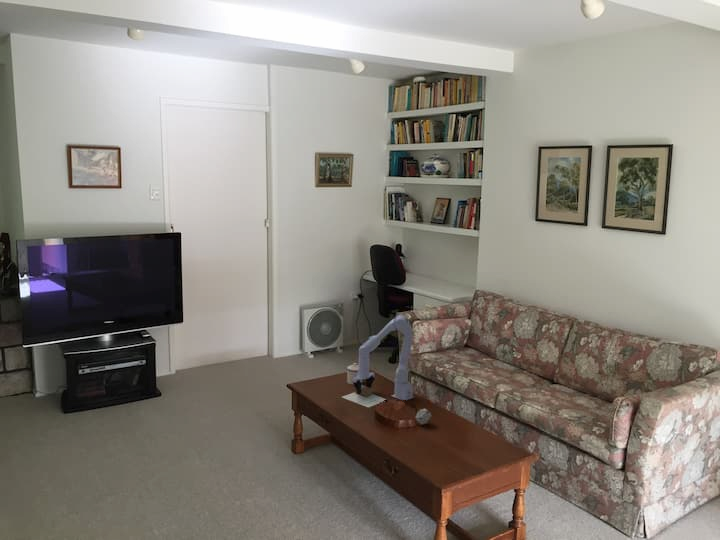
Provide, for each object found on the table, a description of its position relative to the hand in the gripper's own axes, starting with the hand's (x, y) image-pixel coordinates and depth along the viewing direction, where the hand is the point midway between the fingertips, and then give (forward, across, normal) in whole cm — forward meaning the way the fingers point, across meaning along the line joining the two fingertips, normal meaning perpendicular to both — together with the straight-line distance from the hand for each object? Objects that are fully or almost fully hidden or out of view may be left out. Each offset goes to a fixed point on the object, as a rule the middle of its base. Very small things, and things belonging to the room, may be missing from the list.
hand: (363, 392), depth 334 cm
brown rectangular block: (+1, 0, 0) cm, 1 cm away
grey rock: (+2, +7, +46) cm, 47 cm away
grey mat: (+2, +4, +5) cm, 6 cm away
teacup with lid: (+2, -11, -18) cm, 22 cm away
